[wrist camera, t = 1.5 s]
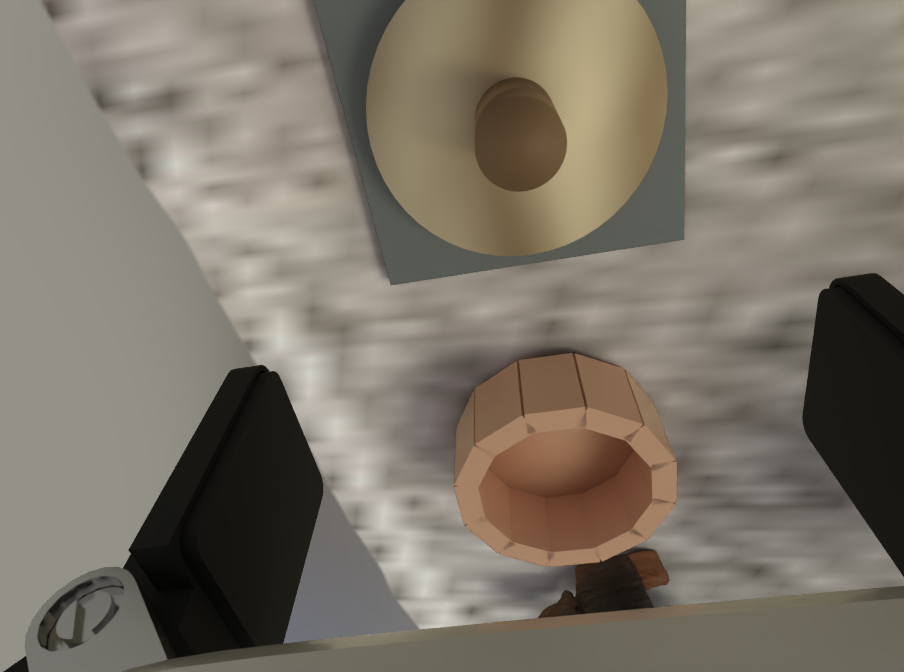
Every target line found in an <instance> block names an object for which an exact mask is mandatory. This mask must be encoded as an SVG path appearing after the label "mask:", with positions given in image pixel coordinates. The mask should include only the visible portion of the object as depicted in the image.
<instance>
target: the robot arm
mask: <svg viewBox="0 0 904 672" xmlns="http://www.w3.org/2000/svg"><path fill="white" fill-rule="evenodd" d="M803 425H804V429H805V432H806V434H807V436H808V438H809V439H810V441H811V442H812V444H813V445H814V447H815V448H816V450H817V451H818V453H819V454H820V455H821V457H822V458H823V460H824V461H825V463H826V464H827V466H828V467H829V469H830V470H831V472H832V473H833V474H834V476H835V477H836V479H837V480H838V482H839V483H840V485H841V486H842V488H843V489H844V490H845V492H846V493H847V495H848V496H849V498H850V499H851V501H852V502H853V504H854V505H855V506H856V508H857V509H858V511H859V512H860V514H861V515H862V517H863V518H864V520H865V521H866V522H867V524H868V525H869V527H870V528H871V530H872V531H873V533H874V534H875V536H876V537H877V539H878V540H879V541H880V543H881V544H882V546H883V547H884V549H885V550H886V552H887V553H888V555H889V556H890V557H891V559H892V560H893V562H894V563H895V565H896V566H897V568H898V569H899V571H900V572H901V573H902V575H903V576H904V295H903V294H902V293H901V292H900V291H898V290H897V289H896V288H895V287H894V286H892V285H891V284H890V283H889V282H887V281H886V280H885V279H884V278H882V277H881V276H880V275H878V274H876V273H870V274H863V275H857V276H850V277H843V278H837V279H835V280H833V281H832V283H831V284H830V286H829V289H824V290H822V291H821V293H820V294H819V298H818V305H817V313H816V320H815V327H814V335H813V342H812V350H811V357H810V364H809V372H808V379H807V387H806V394H805V401H804V409H803ZM322 496H323V481H322V477H321V474H320V472H319V469H318V467H317V465H316V462H315V460H314V457H313V455H312V453H311V450H310V448H309V446H308V443H307V441H306V438H305V436H304V434H303V431H302V429H301V426H300V424H299V422H298V419H297V417H296V414H295V412H294V410H293V407H292V405H291V402H290V400H289V398H288V395H287V393H286V390H285V388H284V386H283V383H282V381H281V379H280V377H279V375H278V373H277V372H275V371H271V372H269V370H268V369H267V368H266V367H265V366H263V365H258V366H251V367H245V368H238V369H233V370H231V371H230V372H229V373H228V375H227V377H226V378H225V380H224V382H223V384H222V385H221V387H220V389H219V391H218V392H217V394H216V396H215V398H214V400H213V401H212V403H211V405H210V407H209V408H208V410H207V412H206V414H205V416H204V417H203V419H202V421H201V423H200V425H199V426H198V428H197V430H196V432H195V433H194V435H193V437H192V439H191V441H190V442H189V444H188V446H187V447H186V449H185V451H184V453H183V454H182V456H181V458H180V460H179V462H178V463H177V465H176V467H175V469H174V470H173V472H172V474H171V476H170V477H169V479H168V481H167V483H166V485H165V486H164V488H163V490H162V492H161V493H160V495H159V497H158V499H157V501H156V502H155V504H154V506H153V508H152V509H151V511H150V513H149V515H148V516H147V518H146V520H145V522H144V524H143V525H142V527H141V529H140V531H139V532H138V534H137V536H136V538H135V539H134V541H133V543H132V545H131V547H130V548H129V551H130V553H131V555H130V557H129V558H128V560H127V562H126V564H125V566H124V567H123V569H122V568H120V567H105V568H101V569H98V570H94V571H90V572H88V573H86V574H84V575H82V576H80V577H78V578H76V579H74V580H72V581H71V582H70V583H68V584H67V585H65V586H64V587H63V588H61V589H60V590H58V591H57V592H56V593H55V594H54V595H53V596H52V597H51V598H50V599H49V600H48V601H47V602H46V603H45V604H44V605H43V606H42V607H41V609H40V610H39V611H38V613H37V614H36V616H35V617H34V618H33V620H32V622H31V624H30V626H29V629H28V631H27V633H26V641H25V651H26V656H25V657H24V658H22V659H21V660H20V661H18V662H17V663H15V664H14V665H12V666H11V667H10V668H8V669H7V670H5V671H4V672H904V586H899V587H885V588H872V589H861V590H849V591H838V592H826V593H815V594H803V595H792V596H780V597H769V598H757V599H746V600H734V601H723V602H711V603H700V604H689V605H678V606H667V607H656V608H645V609H634V610H623V611H612V612H601V613H590V614H579V615H569V616H558V617H547V618H537V619H526V620H515V621H504V622H494V623H483V624H473V625H462V626H452V627H442V628H432V629H422V630H411V631H401V632H391V633H381V634H371V635H360V636H350V637H340V638H330V639H320V640H311V641H302V642H293V643H285V644H283V642H284V639H285V634H286V631H287V627H288V624H289V620H290V616H291V612H292V608H293V605H294V601H295V597H296V594H297V590H298V586H299V583H300V579H301V575H302V571H303V568H304V564H305V559H306V556H307V553H308V549H309V545H310V541H311V538H312V534H313V530H314V526H315V523H316V519H317V515H318V511H319V508H320V504H321V500H322Z"/></svg>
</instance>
